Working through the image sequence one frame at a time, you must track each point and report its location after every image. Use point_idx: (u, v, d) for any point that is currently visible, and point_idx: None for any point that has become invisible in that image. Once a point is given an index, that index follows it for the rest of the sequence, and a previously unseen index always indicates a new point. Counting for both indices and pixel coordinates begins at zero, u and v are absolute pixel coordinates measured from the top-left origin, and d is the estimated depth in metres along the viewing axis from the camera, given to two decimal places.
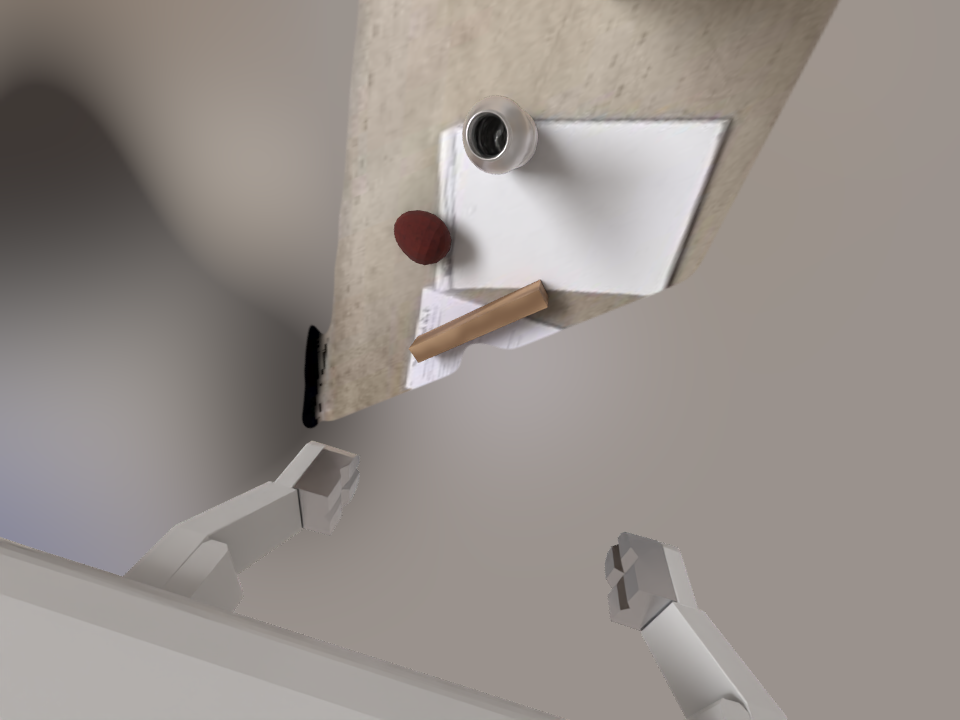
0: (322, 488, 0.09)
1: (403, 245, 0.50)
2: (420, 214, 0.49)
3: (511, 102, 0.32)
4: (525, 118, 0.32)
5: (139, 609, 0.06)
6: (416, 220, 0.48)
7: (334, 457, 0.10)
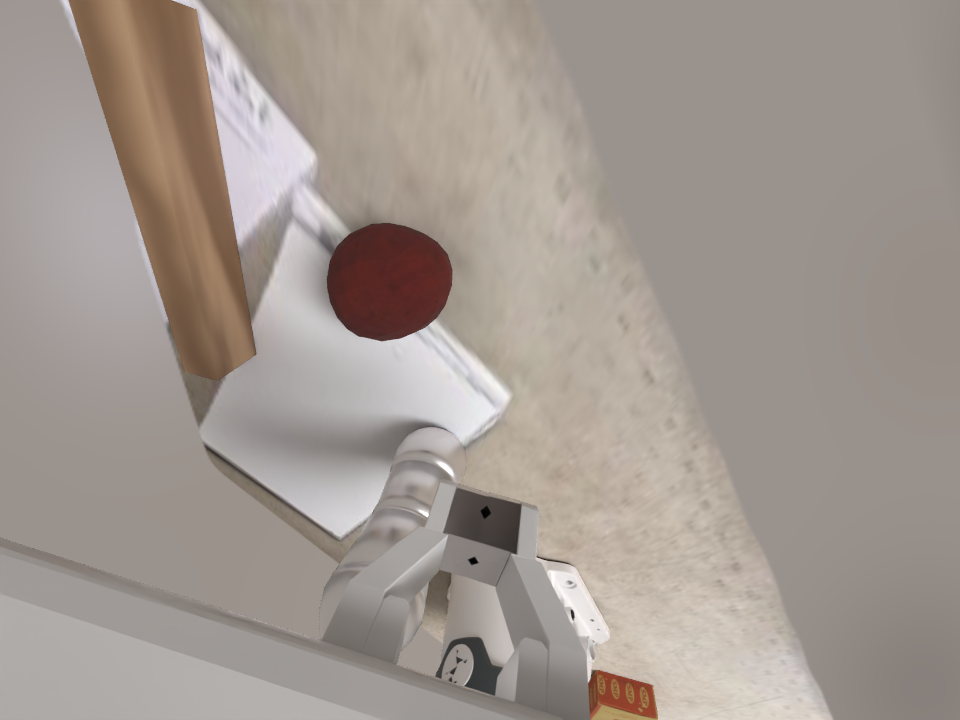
0: (471, 532, 0.09)
1: (382, 267, 0.20)
2: (421, 328, 0.24)
3: None
4: None
5: (139, 609, 0.06)
6: (411, 325, 0.22)
7: (470, 497, 0.10)
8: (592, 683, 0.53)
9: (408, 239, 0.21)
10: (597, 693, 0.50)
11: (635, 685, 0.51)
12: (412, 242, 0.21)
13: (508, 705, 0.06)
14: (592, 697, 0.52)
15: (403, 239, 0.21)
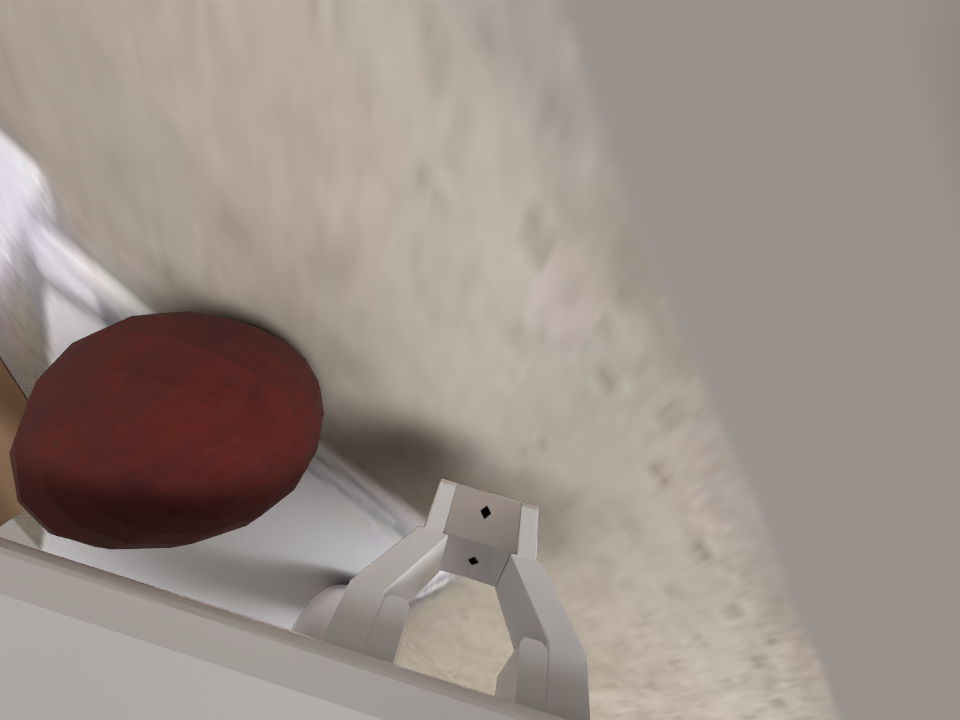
0: (471, 532, 0.09)
1: (99, 443, 0.08)
2: None
3: None
4: None
5: (139, 609, 0.06)
6: (220, 531, 0.10)
7: (470, 497, 0.10)
8: None
9: (180, 365, 0.09)
10: None
11: None
12: (187, 372, 0.09)
13: (508, 705, 0.06)
14: None
15: (166, 366, 0.09)
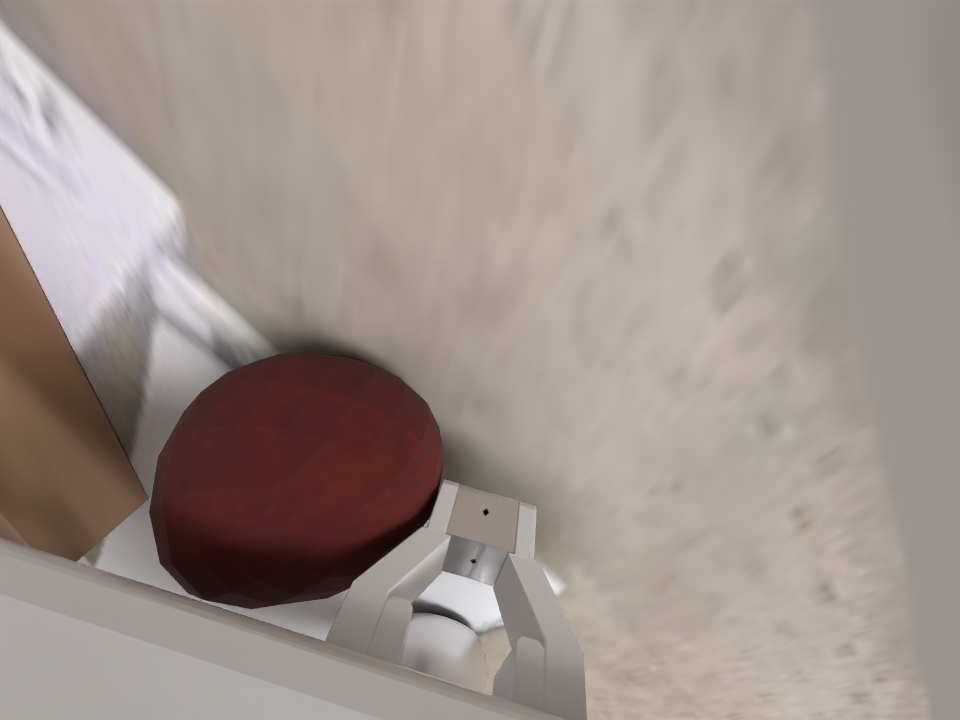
0: (473, 533, 0.09)
1: (256, 505, 0.08)
2: None
3: None
4: None
5: (139, 609, 0.06)
6: None
7: (473, 498, 0.10)
8: None
9: (327, 416, 0.08)
10: None
11: None
12: (337, 424, 0.08)
13: (508, 705, 0.06)
14: None
15: (314, 418, 0.08)
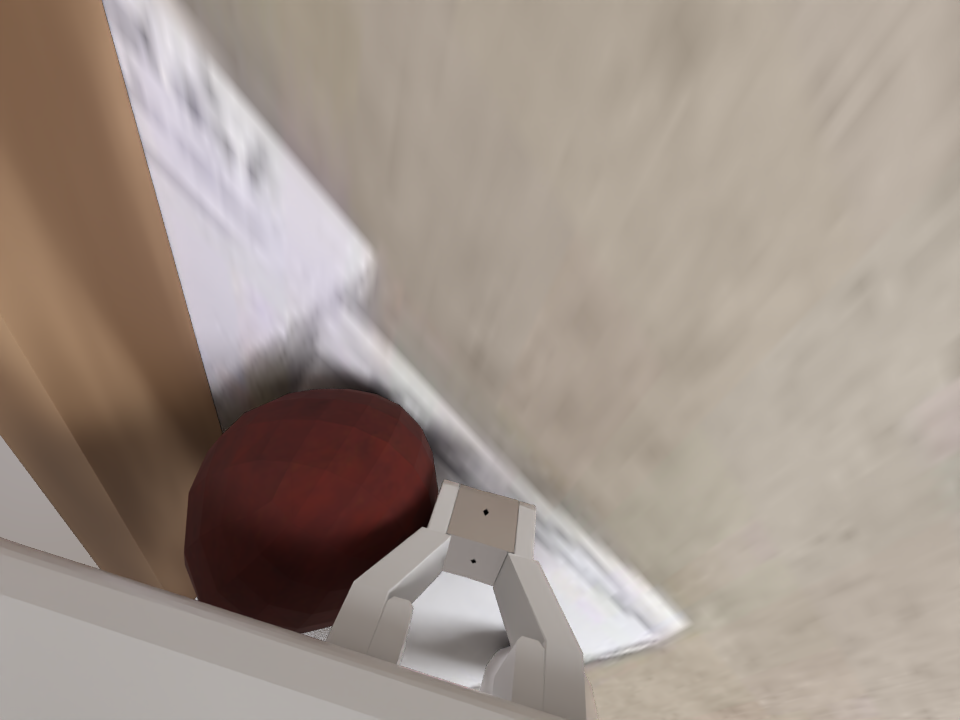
0: (474, 533, 0.09)
1: (246, 534, 0.09)
2: None
3: None
4: None
5: (139, 609, 0.06)
6: None
7: (473, 498, 0.10)
8: None
9: (293, 440, 0.09)
10: None
11: None
12: (301, 445, 0.09)
13: (508, 705, 0.06)
14: None
15: (282, 445, 0.09)
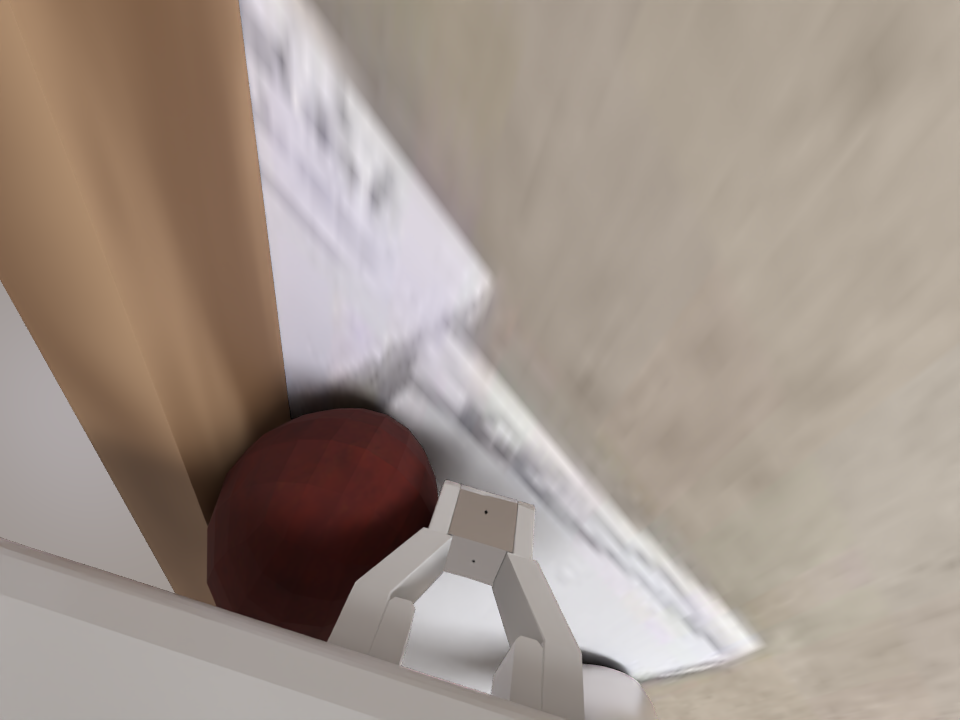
0: (475, 534, 0.09)
1: (248, 556, 0.09)
2: None
3: None
4: None
5: (139, 609, 0.06)
6: None
7: (474, 498, 0.10)
8: None
9: (278, 462, 0.10)
10: None
11: None
12: (285, 465, 0.10)
13: (508, 705, 0.06)
14: None
15: (269, 468, 0.10)
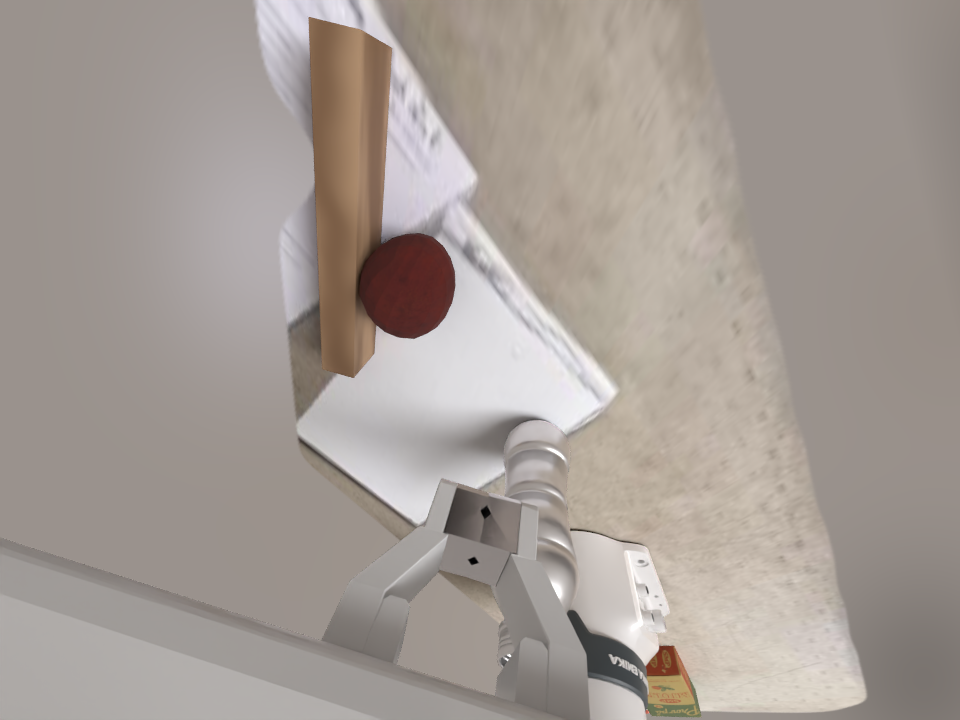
0: (471, 532, 0.09)
1: (388, 271, 0.25)
2: (447, 303, 0.27)
3: None
4: None
5: (139, 609, 0.06)
6: (435, 303, 0.26)
7: (470, 497, 0.10)
8: None
9: (396, 242, 0.26)
10: None
11: None
12: (399, 242, 0.25)
13: (508, 705, 0.06)
14: None
15: (393, 244, 0.26)
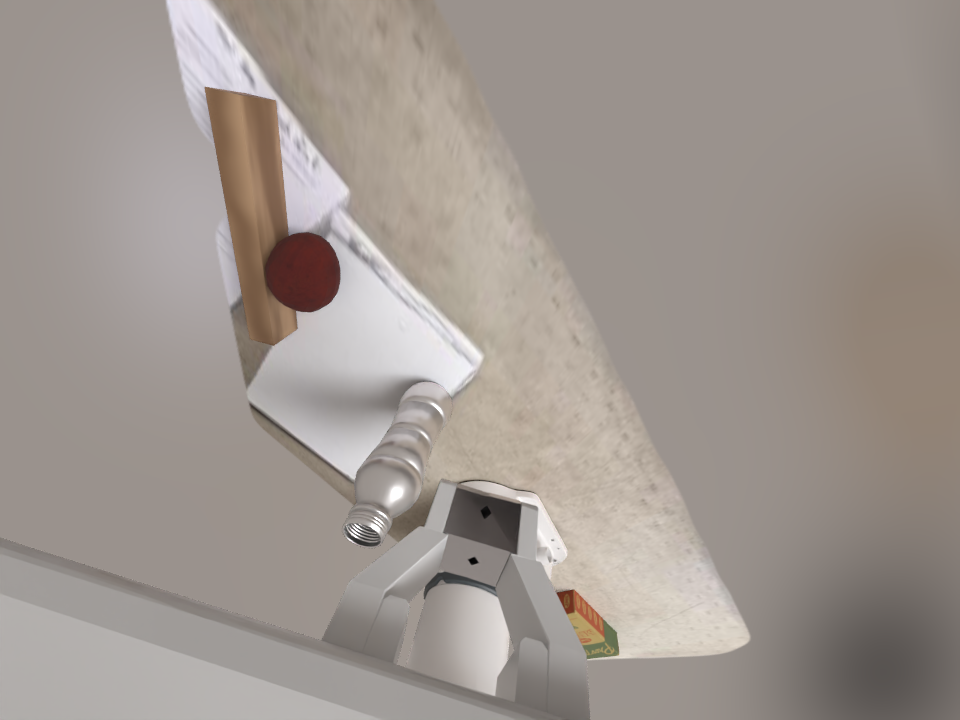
0: (471, 532, 0.09)
1: (279, 260, 0.34)
2: (329, 284, 0.36)
3: None
4: None
5: (139, 609, 0.06)
6: (317, 283, 0.35)
7: (470, 497, 0.10)
8: None
9: (287, 239, 0.35)
10: None
11: (561, 595, 0.65)
12: (289, 238, 0.35)
13: (508, 705, 0.06)
14: None
15: (284, 240, 0.35)
